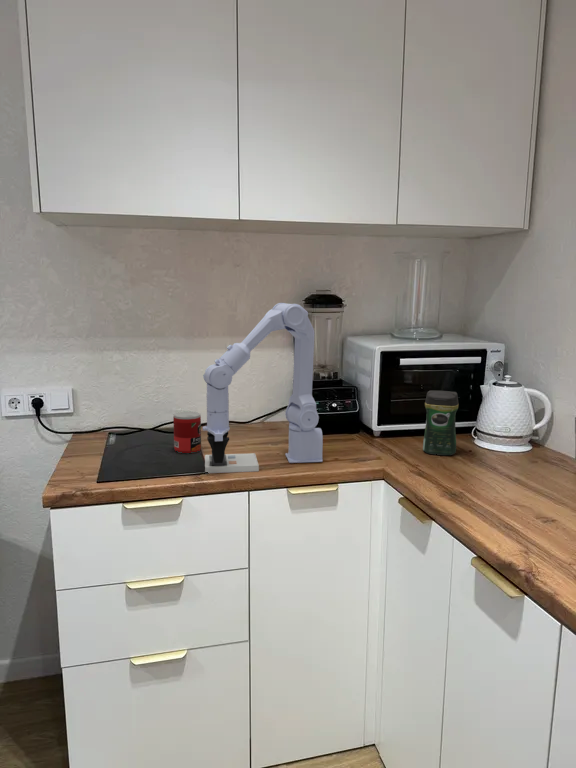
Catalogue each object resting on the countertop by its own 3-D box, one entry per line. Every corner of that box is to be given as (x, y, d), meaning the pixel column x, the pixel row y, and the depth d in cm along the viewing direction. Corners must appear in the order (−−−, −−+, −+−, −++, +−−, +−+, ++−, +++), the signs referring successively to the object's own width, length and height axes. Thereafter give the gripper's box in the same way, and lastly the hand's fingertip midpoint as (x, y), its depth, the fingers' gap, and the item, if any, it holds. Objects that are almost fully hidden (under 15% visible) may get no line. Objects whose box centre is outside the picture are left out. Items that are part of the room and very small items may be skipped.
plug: (224, 465, 154) (224, 440, 153) (225, 469, 151) (224, 444, 150) (211, 466, 154) (211, 440, 153) (212, 470, 151) (211, 444, 149)
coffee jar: (456, 450, 172) (460, 389, 169) (455, 457, 165) (459, 394, 162) (423, 447, 176) (427, 387, 172) (420, 454, 168) (424, 392, 165)
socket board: (254, 458, 162) (254, 452, 162) (258, 471, 151) (258, 464, 151) (204, 460, 160) (204, 454, 159) (205, 473, 149) (205, 466, 149)
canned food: (195, 455, 165) (195, 417, 163) (169, 453, 166) (168, 416, 164) (204, 447, 172) (204, 412, 170) (179, 445, 174) (179, 410, 172)
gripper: (202, 405, 156) (203, 452, 159) (202, 417, 142) (203, 469, 144) (228, 404, 157) (228, 452, 160) (230, 416, 143) (231, 468, 145)
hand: (218, 460), depth 152 cm, fingers closed on plug, 3 cm apart
